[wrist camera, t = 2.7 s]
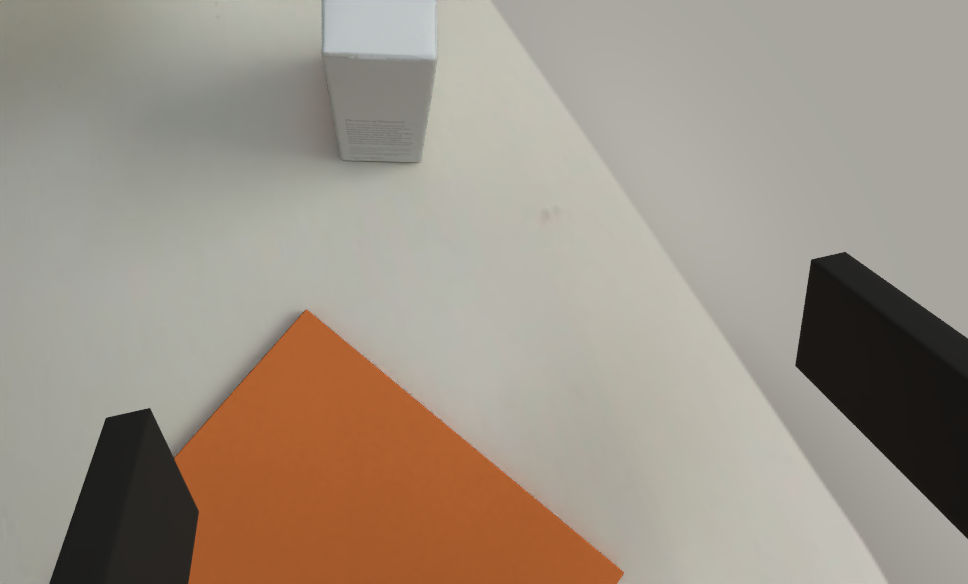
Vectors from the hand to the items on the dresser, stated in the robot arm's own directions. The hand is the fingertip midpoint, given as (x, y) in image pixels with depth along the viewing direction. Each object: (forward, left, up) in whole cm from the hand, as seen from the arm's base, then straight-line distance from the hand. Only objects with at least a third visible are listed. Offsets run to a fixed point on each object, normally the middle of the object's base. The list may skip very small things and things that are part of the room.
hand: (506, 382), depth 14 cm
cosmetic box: (-14, +6, -22) cm, 26 cm away
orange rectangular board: (+5, -7, -22) cm, 23 cm away
